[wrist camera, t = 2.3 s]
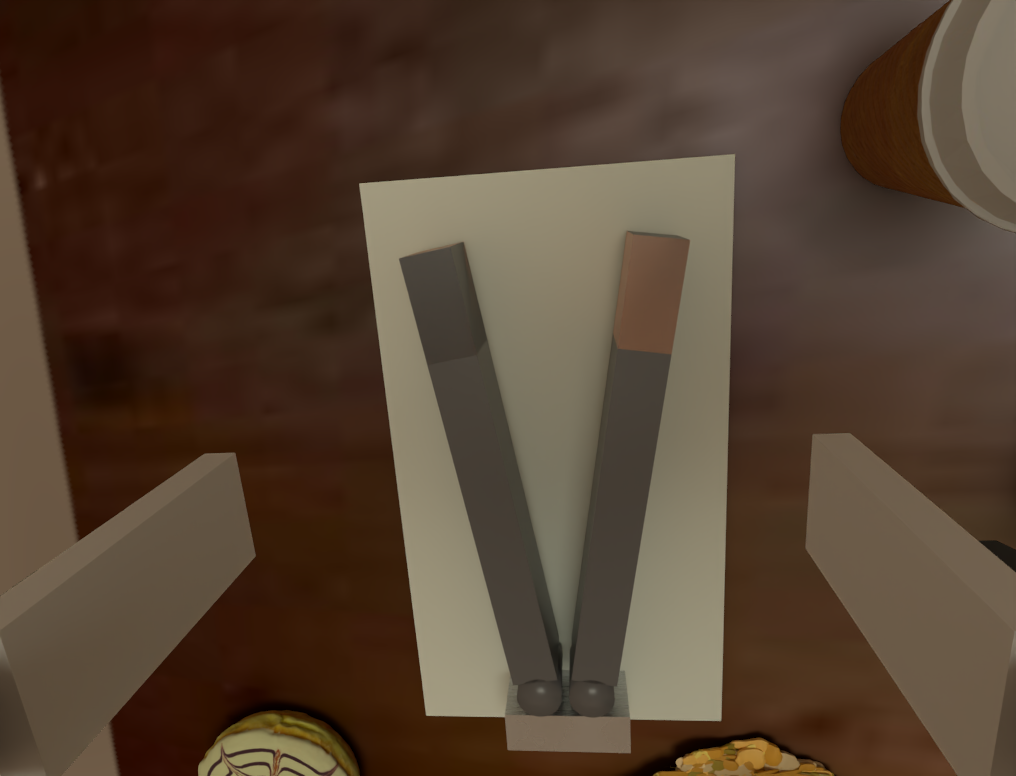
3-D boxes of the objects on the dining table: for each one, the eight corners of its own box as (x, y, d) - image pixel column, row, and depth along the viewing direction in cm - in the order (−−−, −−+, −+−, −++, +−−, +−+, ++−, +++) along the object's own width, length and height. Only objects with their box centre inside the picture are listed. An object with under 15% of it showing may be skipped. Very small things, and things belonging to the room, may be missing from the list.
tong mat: (731, 155, 31) (734, 154, 30) (718, 710, 39) (721, 721, 39) (364, 184, 33) (359, 183, 32) (429, 706, 41) (426, 715, 41)
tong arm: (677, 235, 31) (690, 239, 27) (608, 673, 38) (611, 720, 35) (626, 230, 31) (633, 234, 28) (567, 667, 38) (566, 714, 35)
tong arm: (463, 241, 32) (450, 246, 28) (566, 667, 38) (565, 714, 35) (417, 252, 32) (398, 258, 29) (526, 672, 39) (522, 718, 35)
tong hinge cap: (625, 670, 38) (630, 717, 35) (625, 704, 39) (630, 753, 36) (510, 669, 39) (504, 714, 36) (513, 702, 40) (507, 750, 36)
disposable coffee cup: (939, -52, 28) (1197, -230, 16) (1070, 116, 29) (1397, 61, 17) (759, 119, 30) (873, 70, 19) (887, 267, 31) (1067, 305, 20)
